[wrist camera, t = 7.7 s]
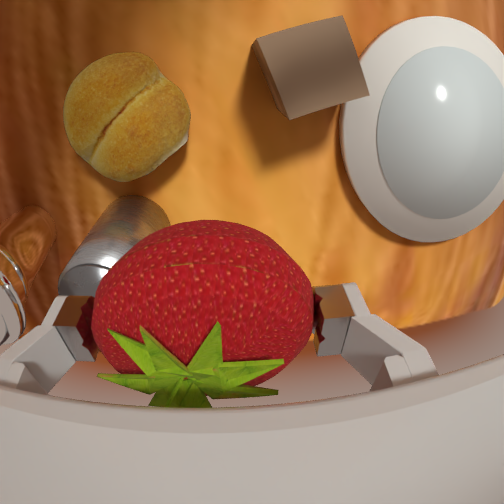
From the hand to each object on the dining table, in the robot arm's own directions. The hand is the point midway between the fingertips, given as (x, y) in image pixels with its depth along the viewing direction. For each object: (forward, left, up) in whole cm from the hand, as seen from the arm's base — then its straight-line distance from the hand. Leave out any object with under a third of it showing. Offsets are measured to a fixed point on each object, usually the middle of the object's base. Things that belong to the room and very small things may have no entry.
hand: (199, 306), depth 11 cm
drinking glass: (+4, -7, -15) cm, 17 cm away
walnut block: (-8, +6, -15) cm, 17 cm away
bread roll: (-6, -9, -15) cm, 18 cm away
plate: (-4, +19, -14) cm, 24 cm away
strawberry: (0, 0, -5) cm, 5 cm away
